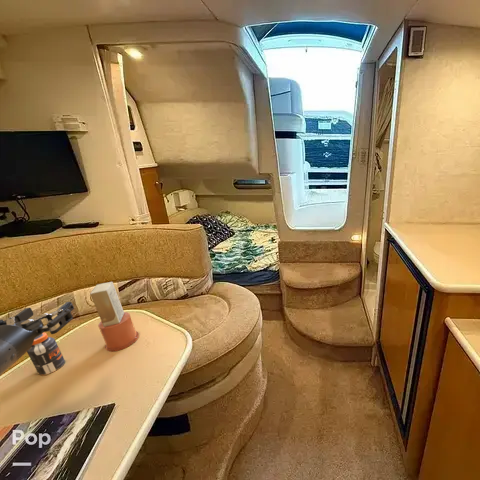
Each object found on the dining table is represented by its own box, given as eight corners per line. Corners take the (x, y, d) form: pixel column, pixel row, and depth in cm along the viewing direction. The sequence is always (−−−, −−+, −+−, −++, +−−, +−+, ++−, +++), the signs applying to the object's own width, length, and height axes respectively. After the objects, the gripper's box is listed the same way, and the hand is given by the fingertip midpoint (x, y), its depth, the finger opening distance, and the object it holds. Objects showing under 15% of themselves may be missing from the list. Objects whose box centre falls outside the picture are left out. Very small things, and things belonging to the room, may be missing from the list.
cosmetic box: (109, 316, 88) (96, 284, 84) (125, 313, 90) (113, 280, 86) (103, 327, 83) (88, 293, 78) (119, 323, 84) (106, 290, 80)
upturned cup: (99, 354, 84) (90, 331, 81) (114, 335, 93) (105, 314, 90) (132, 348, 86) (123, 326, 83) (143, 330, 94) (136, 309, 91)
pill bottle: (60, 371, 78) (44, 339, 75) (34, 378, 76) (16, 346, 72) (69, 357, 84) (54, 327, 80) (45, 363, 82) (28, 333, 78)
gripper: (26, 331, 51) (78, 289, 66) (-66, 347, 48) (9, 299, 63) (43, 362, 54) (89, 315, 69) (-45, 378, 51) (23, 325, 66)
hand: (50, 307), depth 66 cm, fingers open, 8 cm apart
